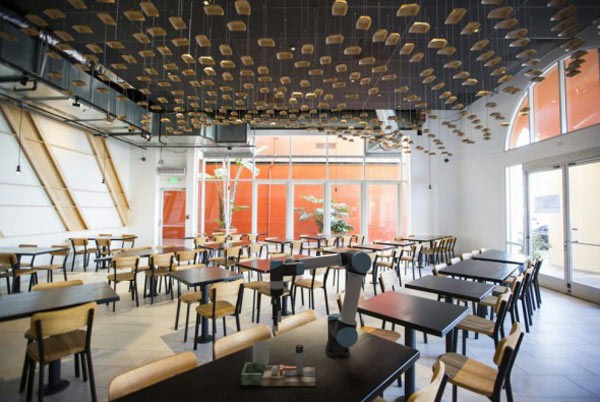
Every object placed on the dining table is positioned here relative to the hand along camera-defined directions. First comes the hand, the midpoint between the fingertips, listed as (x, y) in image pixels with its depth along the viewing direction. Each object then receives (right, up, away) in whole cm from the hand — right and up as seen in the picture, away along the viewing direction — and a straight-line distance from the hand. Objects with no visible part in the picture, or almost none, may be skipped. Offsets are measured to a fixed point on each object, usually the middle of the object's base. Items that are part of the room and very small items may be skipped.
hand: (277, 326), depth 161 cm
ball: (-1, -19, -9) cm, 21 cm away
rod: (+8, -20, -9) cm, 24 cm away
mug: (-10, -24, +7) cm, 27 cm away
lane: (+2, -23, -9) cm, 25 cm away
